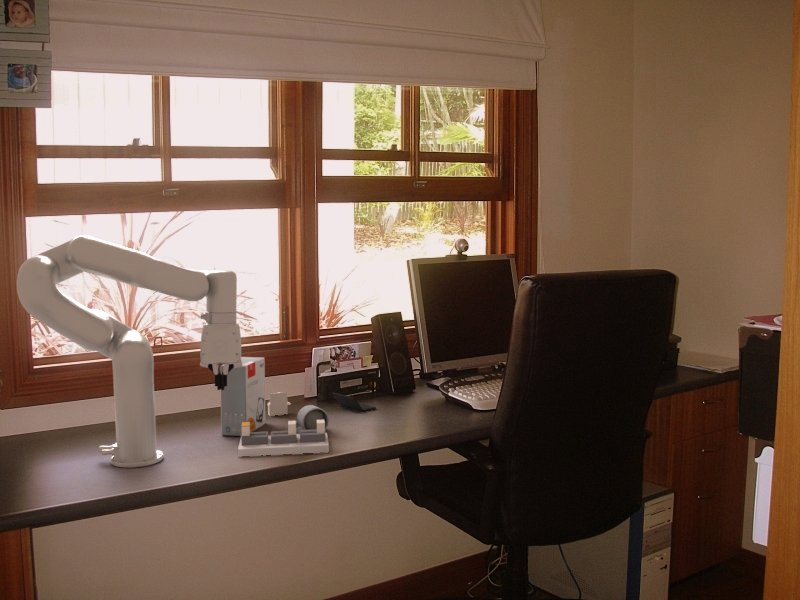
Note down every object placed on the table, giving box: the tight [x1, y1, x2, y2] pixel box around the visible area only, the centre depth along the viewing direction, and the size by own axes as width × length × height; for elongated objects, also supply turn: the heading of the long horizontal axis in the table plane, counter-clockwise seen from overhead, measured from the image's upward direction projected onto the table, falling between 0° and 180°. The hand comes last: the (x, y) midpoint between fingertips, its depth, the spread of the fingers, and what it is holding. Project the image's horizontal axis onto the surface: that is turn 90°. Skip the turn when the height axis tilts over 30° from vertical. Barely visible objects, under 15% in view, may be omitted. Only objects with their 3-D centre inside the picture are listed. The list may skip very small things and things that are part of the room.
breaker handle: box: [241, 422, 250, 437], centre depth 212 cm, size 2×4×3 cm, turn 8°
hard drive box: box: [219, 356, 267, 437], centre depth 232 cm, size 16×8×20 cm, turn 168°
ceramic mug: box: [296, 404, 330, 434], centre depth 229 cm, size 11×8×8 cm
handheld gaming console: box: [332, 392, 377, 413], centre depth 256 cm, size 12×7×10 cm
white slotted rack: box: [237, 420, 330, 458], centre depth 213 cm, size 23×12×7 cm, turn 98°
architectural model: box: [266, 391, 292, 417], centre depth 250 cm, size 3×7×7 cm, turn 117°
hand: (221, 389), depth 210 cm, fingers closed
